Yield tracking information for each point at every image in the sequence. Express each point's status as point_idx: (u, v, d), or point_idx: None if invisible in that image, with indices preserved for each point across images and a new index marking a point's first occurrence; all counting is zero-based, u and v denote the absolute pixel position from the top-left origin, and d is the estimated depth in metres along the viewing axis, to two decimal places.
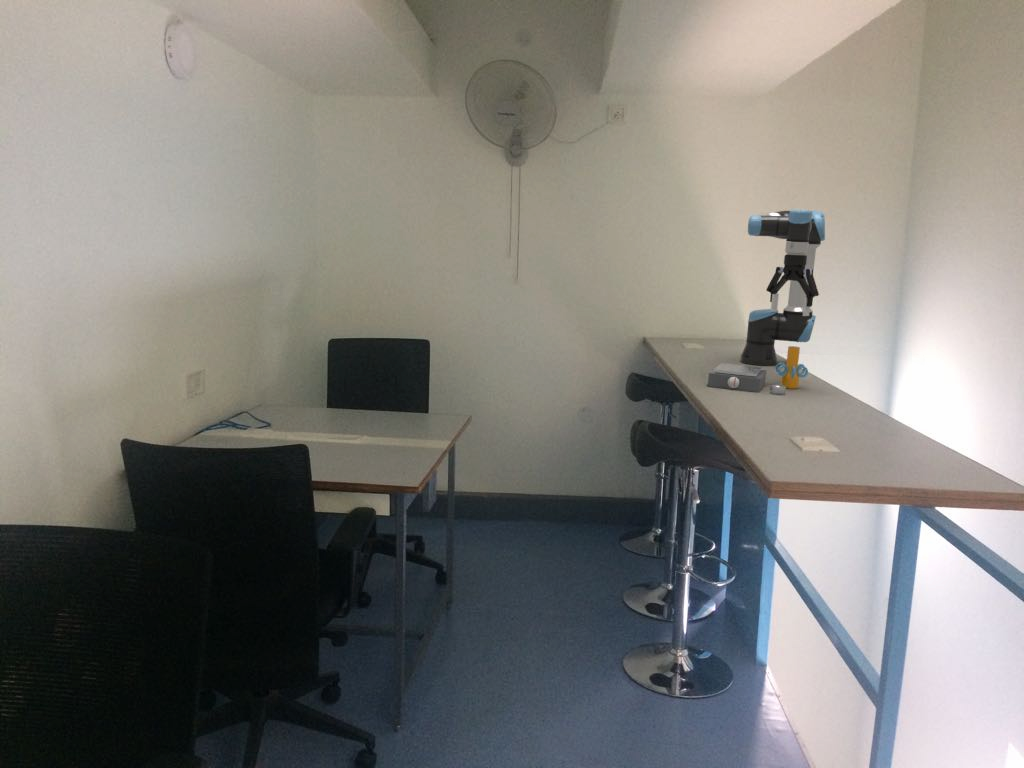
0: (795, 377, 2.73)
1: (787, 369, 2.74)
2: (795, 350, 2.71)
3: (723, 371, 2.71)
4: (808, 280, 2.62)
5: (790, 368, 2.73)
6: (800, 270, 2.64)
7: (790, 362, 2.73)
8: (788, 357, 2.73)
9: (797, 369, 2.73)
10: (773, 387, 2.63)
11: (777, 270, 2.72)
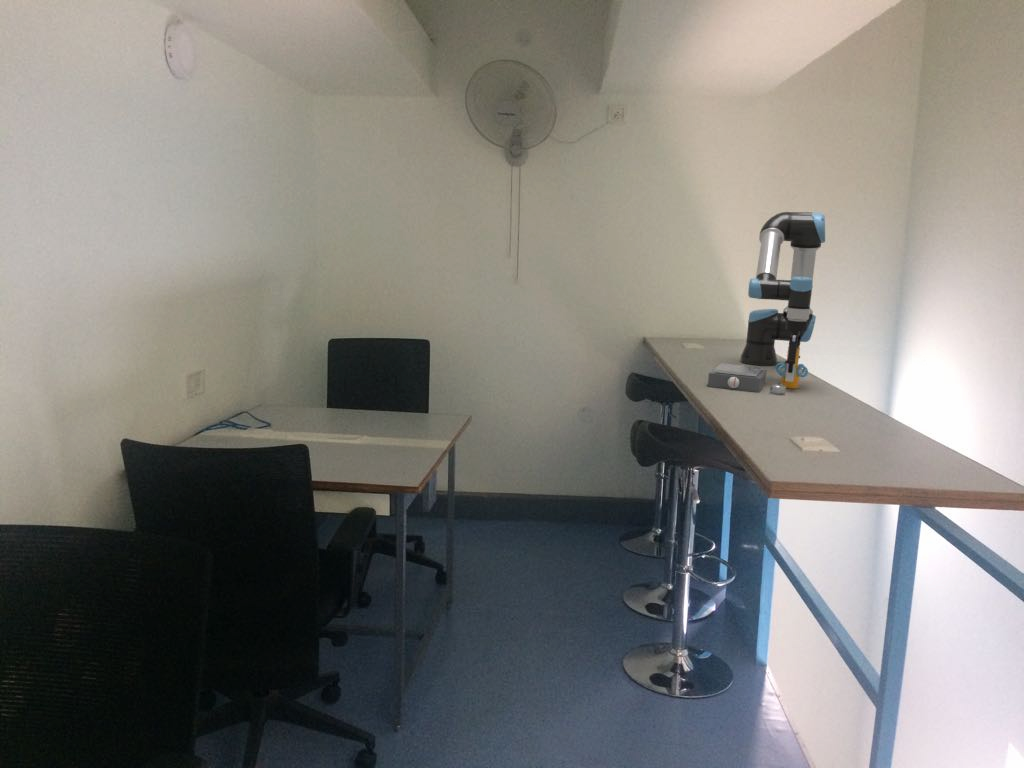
0: (795, 377, 2.73)
1: None
2: None
3: (723, 371, 2.71)
4: (789, 346, 2.67)
5: None
6: None
7: None
8: None
9: (797, 369, 2.73)
10: (773, 387, 2.63)
11: None
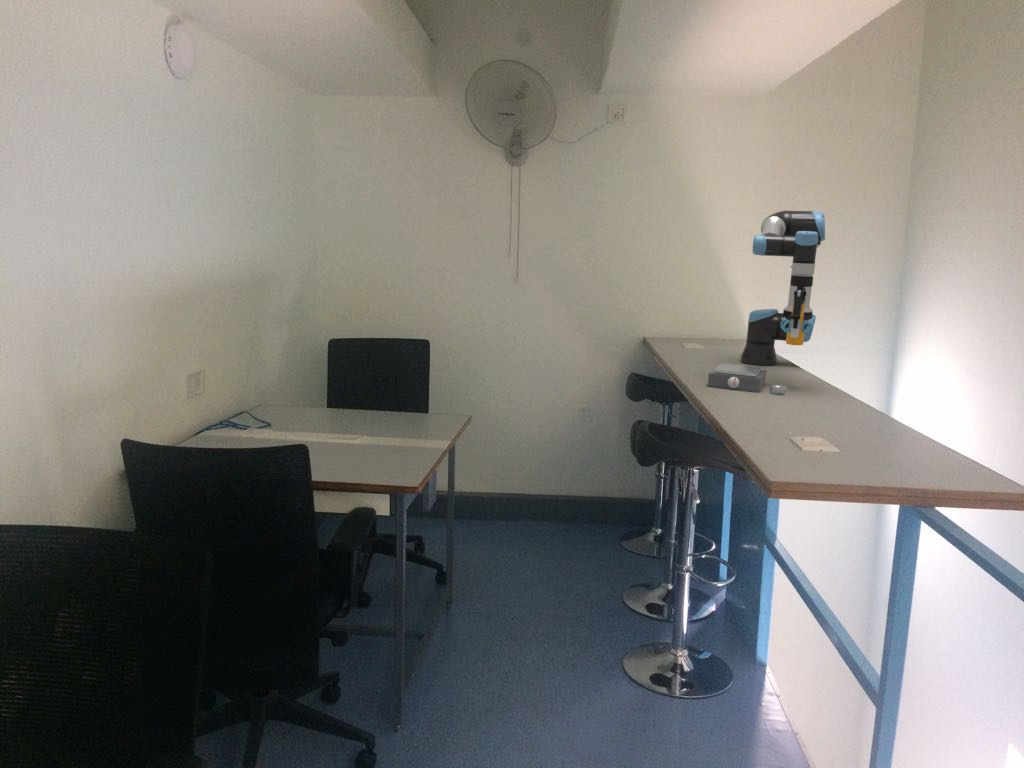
0: (800, 333, 2.70)
1: None
2: None
3: (723, 371, 2.71)
4: (794, 301, 2.64)
5: None
6: None
7: None
8: None
9: (802, 325, 2.70)
10: (773, 387, 2.63)
11: None
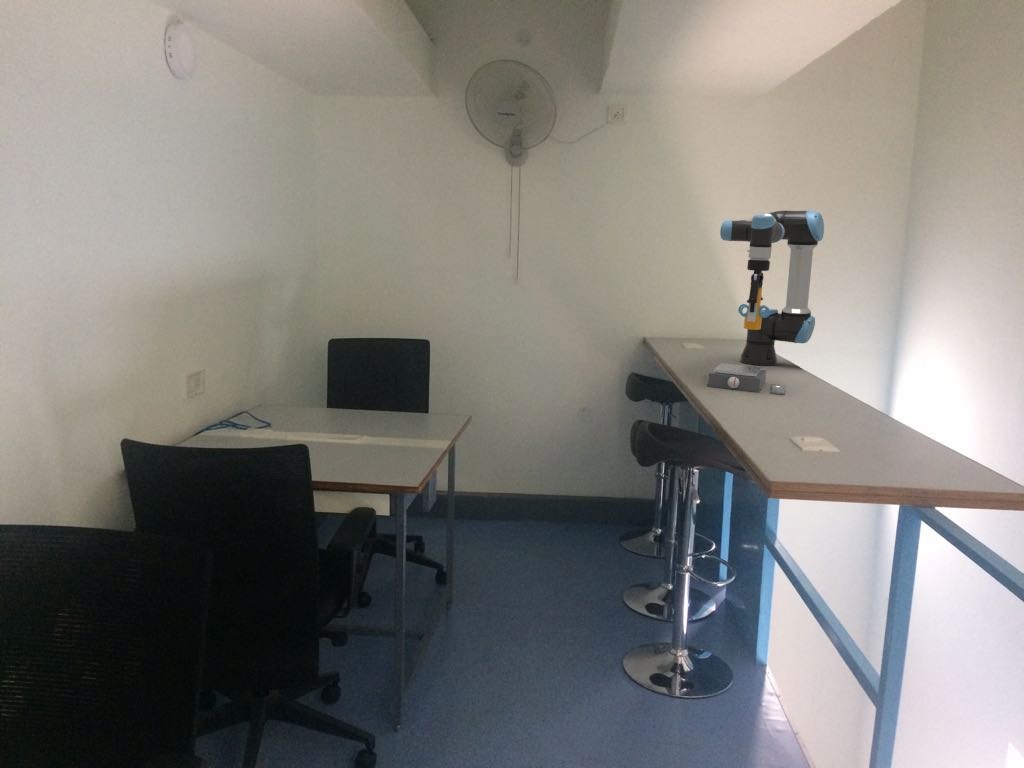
0: (757, 318, 2.69)
1: None
2: None
3: (723, 371, 2.71)
4: (751, 285, 2.64)
5: None
6: None
7: None
8: None
9: (759, 310, 2.69)
10: (773, 387, 2.63)
11: None
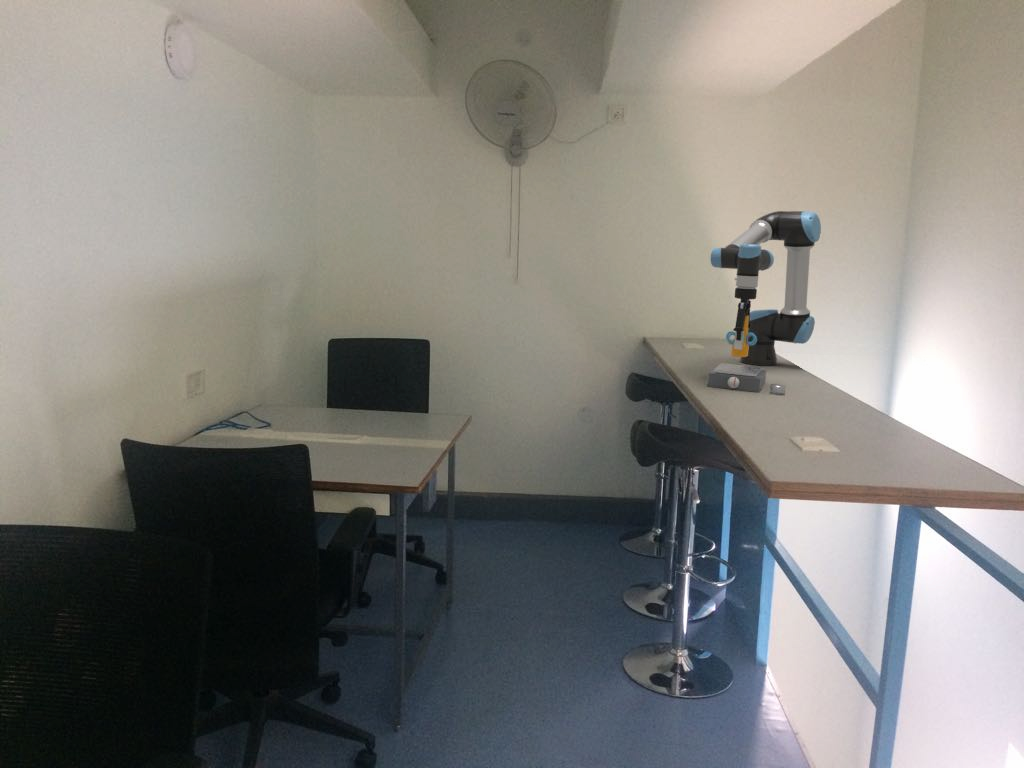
0: (744, 345, 2.72)
1: None
2: None
3: (723, 371, 2.71)
4: None
5: None
6: None
7: None
8: None
9: (746, 337, 2.72)
10: (773, 387, 2.63)
11: None
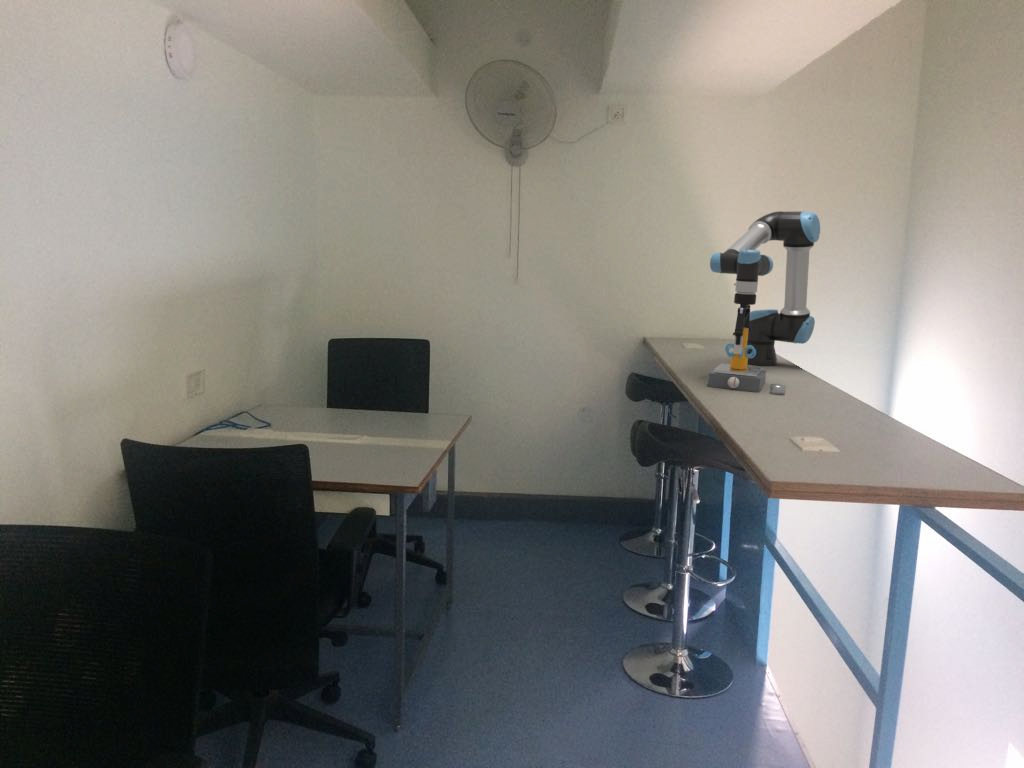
0: (743, 358, 2.72)
1: None
2: (744, 330, 2.71)
3: (723, 371, 2.71)
4: (737, 318, 2.66)
5: None
6: None
7: None
8: None
9: (746, 350, 2.73)
10: (773, 387, 2.63)
11: None
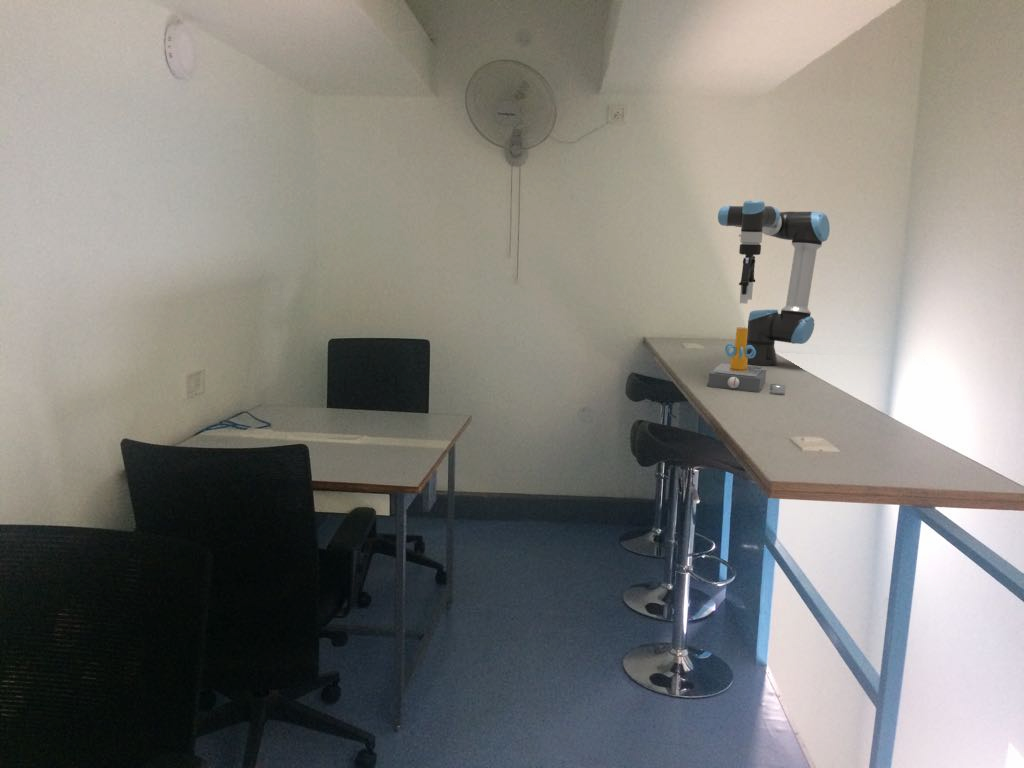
0: (743, 358, 2.72)
1: (735, 350, 2.73)
2: (743, 331, 2.71)
3: (723, 371, 2.71)
4: None
5: (738, 349, 2.73)
6: None
7: (738, 343, 2.73)
8: (736, 338, 2.73)
9: (745, 350, 2.73)
10: (773, 387, 2.63)
11: None
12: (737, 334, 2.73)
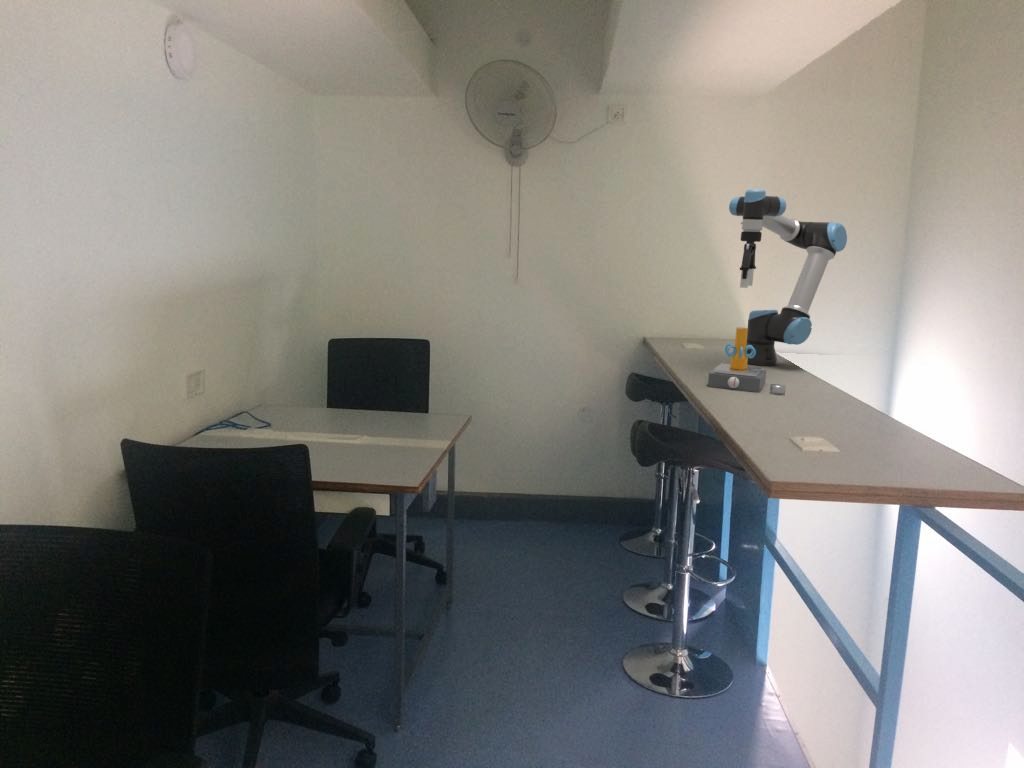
0: (743, 358, 2.72)
1: (735, 350, 2.73)
2: (743, 330, 2.71)
3: (723, 371, 2.71)
4: None
5: (738, 349, 2.73)
6: None
7: (738, 343, 2.73)
8: (736, 338, 2.73)
9: (745, 350, 2.73)
10: (773, 387, 2.63)
11: None
12: (737, 334, 2.73)
